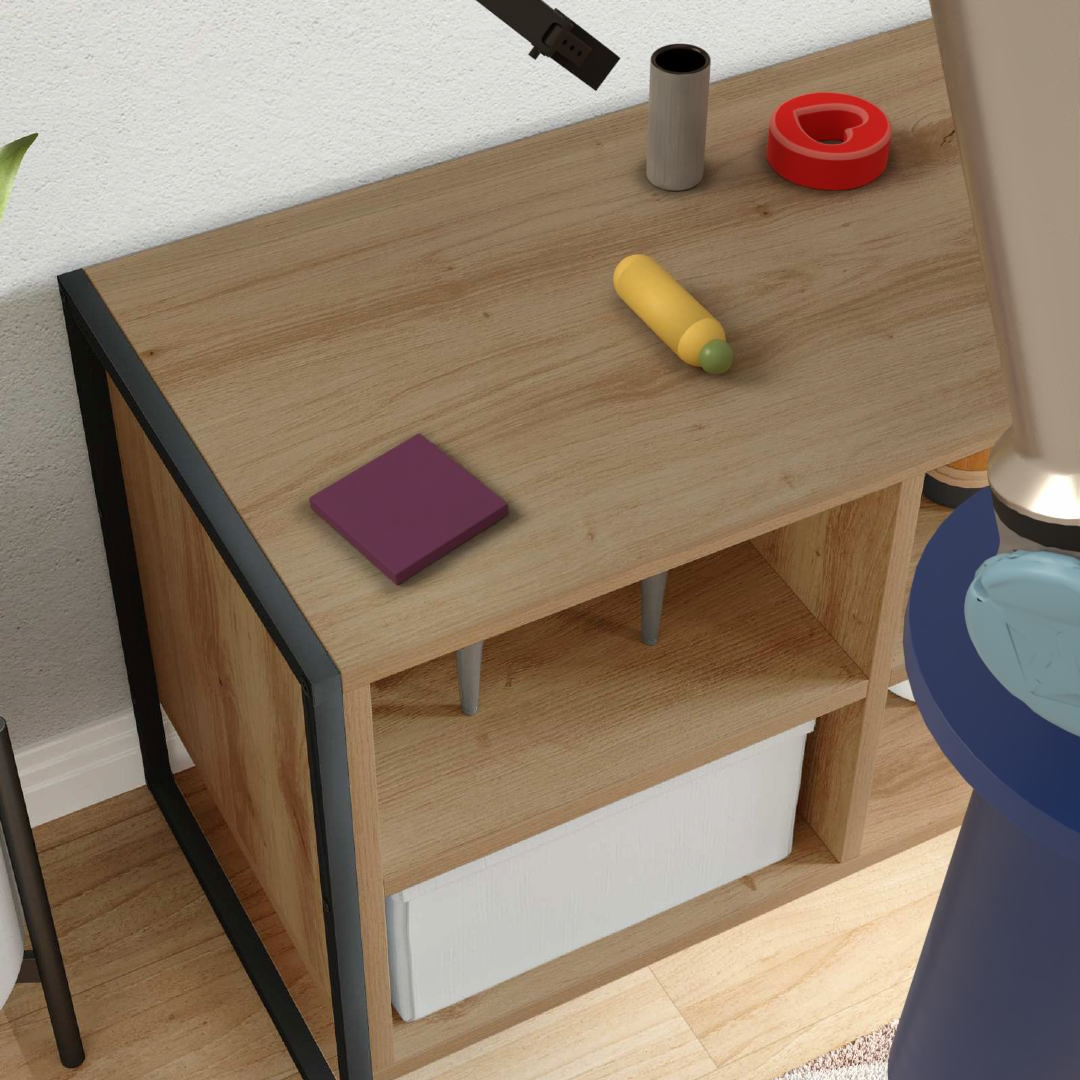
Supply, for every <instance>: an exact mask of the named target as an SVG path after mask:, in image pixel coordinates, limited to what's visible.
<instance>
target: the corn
mask: <svg viewBox="0 0 1080 1080" xmlns="http://www.w3.org/2000/svg"><path fill="white" fill-rule="evenodd" d="M612 283H613V288H614V290H615V293H616V294H617V296H618V297H619V298H620V299H621V300H622V301H623V302H624V303H625V304H626V305H627V306H628V307H629V308H630V309H631V310H632V311H633V312H634V314H636V315H637V316H638V317H639V318H640V319H641V320H642V321H643V322H644V323H645V324H646V325H647V327H648V328H650V330H651V331H653V332H654V333H655V335H657V337H659V338H660V340H662V342H663V343H664V344H665V345H666V346H668V347H669V349H670V350H671V351H672V352H673V353H675V355H676V356H677V357H678V358H679V359H680V360H681V361H683V362H684V363H685V364H686V365H689V366H692V367H698V368H702V370H703V371H704V372H706V373H708V374H711V375H721V374H723V373H725V372H727V371H728V370H729V369H730V368H731V366H732V365H733V363H734V350H733V348H732V347H731V345H730V344H729V343H728V342H727V338H726V332H725V330H724V328H723V326H722V325H721V323H720V321H718V320H717V319H716V318H715V317H714V316H713V315H712V314H711V313H710V312H709V311H708V310H707V308H705V307H704V306H703V305H701V303H700V302H698V301H697V300H696V299H695V298H694V296H692V294H691V293H689V291H687V290H686V289H685V288H684V287H683V286H682V285H681V284H680V283H679V282H678V281H676V279H675V278H674V277H673V276H671V275H670V273H668V272H667V271H666V270H665V268H663V267H662V266H661V264H659V263H658V262H657V261H656V260H655V259H654V258H652V257H650V256H648V255H645V254H641V253H639V254H637V253H635V254H632V255H631V254H630V255H629V256H626V257H625V258H623V259H622V260H620V261H619V263H618V264H617V265H616V267H615V268H614V272H613V277H612Z"/></svg>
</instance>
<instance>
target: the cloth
mask: <svg viewBox="0 0 1080 1080" xmlns="http://www.w3.org/2000/svg"><path fill="white" fill-rule="evenodd" d="M308 500H309V505H310V509H311V510H312V511H313V512H314V513H316V514H317V515H318V516H319V517H320V518H321V519H322V520H324V522H325V523H327V524H328V525H329V526H330V527H331V528H332V529H334V531H335V532H337V533H338V534H339V536H341V537H342V538H344V539H345V540H346V541H347V542H348V543H349V544H350V545H352V546H353V547H354V548H355V549H356V550H357V551H358V552H359V553H360V554H361V555H362V556H364V557H365V558H366V559H367V560H368V561H369V562H370V563H372V564H373V565H374V567H376V568H377V569H378V570H379V571H381V573H383V574H384V575H385V576H386V577H387V578H388V579H389V580H391V581H392V582H393V583H394V584H395V585H396V586H397V585H400V584H401V583H403V582H405V581H406V580H408V579H409V578H411V577H413V576H414V575H416V574H417V573H419V572H420V571H421V570H423V569H425V568H426V567H428V566H430V565H431V564H433V563H434V562H436V561H437V560H439V559H441V558H442V557H444V556H445V555H447V554H448V553H450V552H451V551H453V550H455V549H456V548H458V547H460V546H461V545H462V544H464V543H466V542H467V541H469V540H470V539H472V538H473V537H475V536H477V535H478V534H479V533H481V532H483V531H485V530H486V529H487V528H489V527H491V526H492V525H494V524H495V523H497V522H499V521H500V520H502V519H504V518H505V517H507V515H509V504H508V502H506V501H505V500H504V499H503V498H502V497H500V496H499V495H498V494H497V493H495V492H494V491H493V490H491V489H490V488H489V487H488V486H486V485H485V484H484V483H482V482H481V481H480V480H479V479H478V478H477V477H475V476H474V475H472V474H471V473H470V472H469V471H468V470H467V469H465V468H464V467H463V466H461V465H460V464H459V463H458V462H456V460H454V459H452V458H451V457H450V456H449V455H448V454H446V453H445V452H444V451H443V450H441V449H440V448H439V447H438V446H436V445H435V444H434V443H433V442H432V441H430V440H429V439H427V438H426V437H425V436H424V435H423V434H422V433H420V432H418V433H416V434H415V435H413V436H411V437H410V438H408V439H406V440H404V441H403V442H401V443H399V444H398V445H396V446H394V447H393V448H391V449H389V450H387V451H386V452H384V453H382V454H380V455H379V456H377V457H376V458H374V459H372V460H371V461H368V462H367V463H365V464H363V465H362V466H360V467H359V468H356V469H355V470H353V471H352V472H350V473H348V474H347V475H345V476H343V477H341V478H340V479H338V480H336V481H335V482H333V483H331V484H330V485H327V486H326V487H324V488H323V489H321V490H319V491H318V492H316V493H314V494H313V495H311V496H309V497H308Z"/></svg>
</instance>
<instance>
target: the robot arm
mask: <svg viewBox="0 0 1080 1080" xmlns="http://www.w3.org/2000/svg"><path fill="white" fill-rule="evenodd" d="M475 1H476V2H477V3H478V4H480V6H482V7H484V8H485V10H487V11H489V12H490V13H491V14H493V16H495V17H496V18H498V19H499V20H500V21H502V22H503V23H504V24H505V25H507V26H508V27H509V28H511V29H512V30H513V31H514V32H516V33H517V34H518V35H520V36H521V37H522V38H523V39H524V40H526V41H527V42H529V43H530V45H531V46H532V48H531V49H530V51H529V52H528V53H527V55H528V56H529V57H530V58H531V59H533V60H534V61H537V59H538V57H539V56H540V55H542V56H543V57H547V58H550V59H551V60H553V61H554V62H555V63H556V64H558V65H559V66H561V67H562V68H563V69H565V71H568V72H569V73H570V74H571V75H573V76H574V77H576V78H577V79H578V80H580V81H581V82H583V83H584V84H585V85H587V86H588V87H589V88H591V89H592V90H593V91H595V92H597V91H598V90H599V88H600V87H601V85H602V84H603V83H604V81H605V80H606V79H607V77H608V76H609V75H610V73H611V72H612V70H613V69H614V68H615V67H616V66H617V64H618V62H619V61H620V60H621V57H620V56H619V55H618V54H616V52H614V51H613V50H611V49H610V48H609V47H607V46H606V45H605V44H604V43H602V42H601V41H600V40H599V39H597V38H596V37H594V36H593V35H592V34H590V33H589V32H588V31H587V30H585V29H584V28H583V27H582V26H580V25H579V24H578V23H576V21H574V20H573V19H571V18H570V17H568V16H567V15H566V14H565V13H564V12H562V11H561V10H560V9H559V8H557V7H554V8H553V7H551V6H550V5H549V4H548V3H546V2H545V1H544V0H475ZM928 3H929V8H930V13H931V18H932V24H933V29H934V34H935V39H936V43H937V49H938V54H939V59H940V63H941V64H940V65H941V68H942V69H941V70H942V74H943V79H944V83H945V88H946V89H945V90H946V93H947V100H948V105H949V109H950V114H951V119H952V125H953V130H954V134H955V139H956V145H957V149H958V154H959V160H960V164H961V170H962V174H963V179H964V185H965V189H966V195H967V198H968V199H967V200H968V205H969V209H970V215H971V219H972V224H973V229H974V235H975V239H976V245H977V250H978V255H979V260H980V264H981V265H980V266H981V269H982V275H983V279H984V285H985V289H986V294H987V300H988V305H989V308H990V309H989V310H990V315H991V320H992V325H993V330H994V334H995V340H996V344H997V351H998V355H999V361H1000V365H1001V369H1002V375H1003V380H1004V384H1005V391H1006V396H1007V400H1008V405H1009V410H1010V415H1011V420H1012V424H1011V425H1010V426H1008V428H1007V429H1005V431H1003V433H1002V434H1001V435H1000V436H999V438H998V439H997V440H996V441H995V443H994V444H993V446H992V447H991V449H990V452H989V454H988V458H987V462H986V475H987V482H988V486H990V491H991V496H992V501H993V507H994V512H995V517H996V521H997V526H998V531H999V537H1000V545H999V549H998V553H997V555H996V556H994V557H991V558H989V559H987V560H985V561H984V563H983V564H982V565H981V566H980V567H979V568H978V570H977V571H976V573H975V576H974V580H973V581H972V583H971V584H970V586H969V589H968V591H967V594H966V597H965V606H964V613H965V621H966V625H967V629H968V633H969V635H970V638H971V640H972V642H973V644H974V646H975V648H976V650H977V652H978V654H979V656H980V657H981V659H982V660H983V662H984V663H985V665H986V666H987V667H988V669H989V670H990V671H991V673H992V674H993V675H994V676H995V677H996V679H997V680H998V681H999V682H1000V683H1001V684H1002V685H1003V686H1004V687H1005V688H1006V689H1007V690H1008V691H1009V692H1010V693H1011V694H1012V695H1014V696H1015V697H1017V698H1019V699H1020V700H1022V701H1023V702H1024V703H1025V704H1026V705H1028V706H1029V707H1030V708H1031V709H1032V710H1033V711H1034V712H1035V713H1037V714H1038V715H1040V716H1041V717H1043V718H1044V719H1046V720H1048V721H1049V722H1051V723H1053V724H1055V725H1056V726H1058V727H1060V728H1062V729H1064V730H1066V731H1068V732H1070V733H1072V734H1074V735H1077V736H1079V737H1080V0H928Z"/></svg>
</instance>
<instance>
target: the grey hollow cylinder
mask: <svg viewBox="0 0 1080 1080" xmlns="http://www.w3.org/2000/svg"><path fill="white" fill-rule="evenodd" d="M711 58H712V57H711V55H710V54H709V53H708V52H707V51H706V50H705V49H703V48H702V47H699V46H697V45H694V44H690V43H669V44H665V45H663V46H661V47H658V48H657V49H655V50H654V51H653V52H652V54H651V55H650V61H649V87H648V112H647V113H648V115H647V116H648V117H647V143H646V147H647V148H646V167H645V169H646V177H647V180H648V181H649V182H650V183H651V184H652V185H653V186H655V187H656V188H659V189H662V190H666V191H678V192H679V191H685V190H689V189H691V188H694V187H696V186H697V185H698V184H699V183H700V182H701V181H702V180H703V176H704V169H705V153H706V141H707V125H708V109H709V93H710V80H711V65H712V59H711Z"/></svg>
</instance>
